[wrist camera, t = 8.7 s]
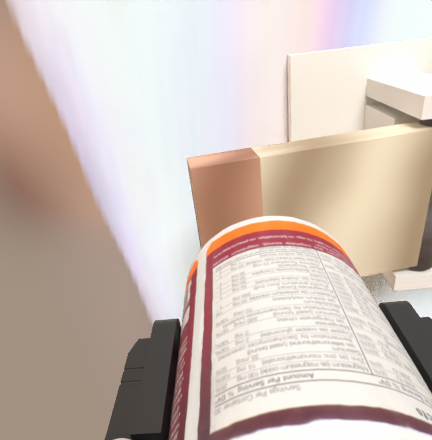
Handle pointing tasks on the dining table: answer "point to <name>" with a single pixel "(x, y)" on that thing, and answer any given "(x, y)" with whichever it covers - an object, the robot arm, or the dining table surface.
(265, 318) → the pill bottle
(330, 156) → the board
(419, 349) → the robot arm
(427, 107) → the pivot stand
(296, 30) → the dining table surface
